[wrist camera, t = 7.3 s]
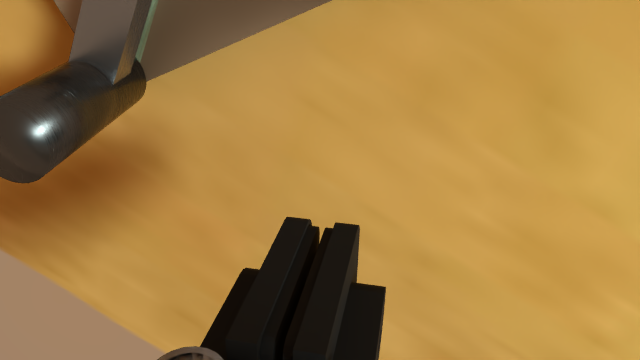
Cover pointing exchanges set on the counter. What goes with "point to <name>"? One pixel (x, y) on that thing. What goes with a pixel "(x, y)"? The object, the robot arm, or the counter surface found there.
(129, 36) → the grey crank handle
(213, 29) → the crank board
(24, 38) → the counter surface
